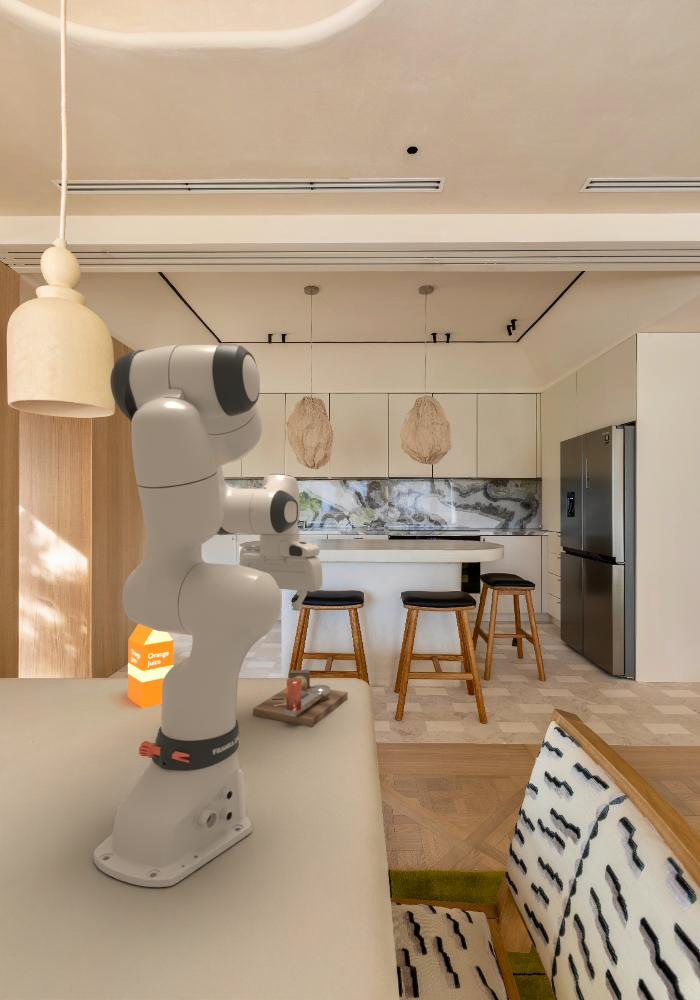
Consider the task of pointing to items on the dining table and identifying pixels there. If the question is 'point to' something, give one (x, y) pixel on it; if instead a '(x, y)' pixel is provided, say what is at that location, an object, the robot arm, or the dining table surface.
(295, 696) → the lever
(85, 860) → the dining table surface
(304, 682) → the wooden ball
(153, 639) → the orange juice
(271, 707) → the board
